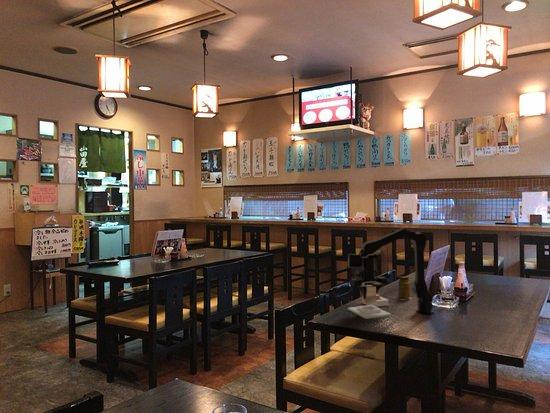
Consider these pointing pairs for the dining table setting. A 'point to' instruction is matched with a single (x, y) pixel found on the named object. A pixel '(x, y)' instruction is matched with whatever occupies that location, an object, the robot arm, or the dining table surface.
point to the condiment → (404, 288)
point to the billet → (370, 294)
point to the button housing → (380, 302)
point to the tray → (369, 311)
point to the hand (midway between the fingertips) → (369, 298)
